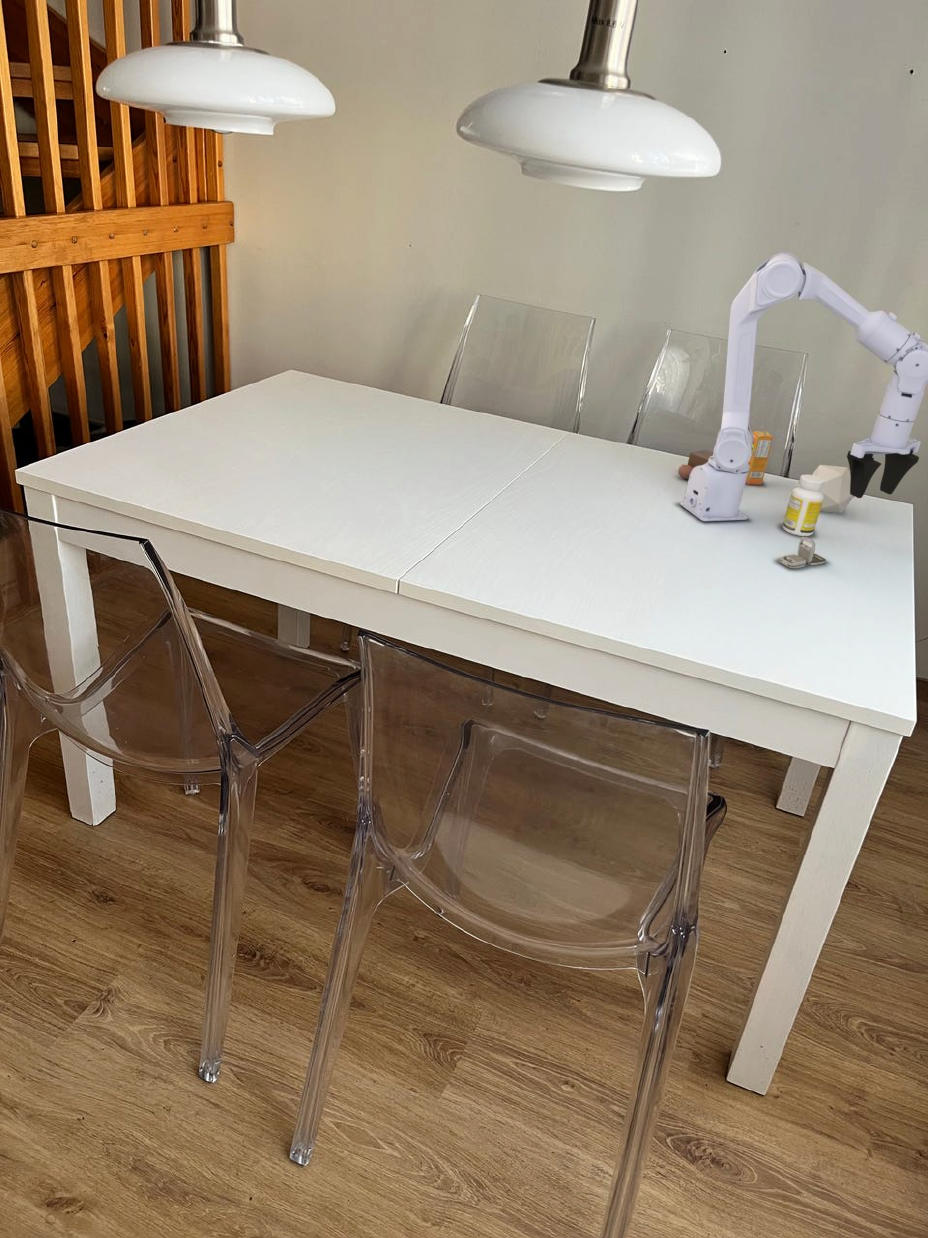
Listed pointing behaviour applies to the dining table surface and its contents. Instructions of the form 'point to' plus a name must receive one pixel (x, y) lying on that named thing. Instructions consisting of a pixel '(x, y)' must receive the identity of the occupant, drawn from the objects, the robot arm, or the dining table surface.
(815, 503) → the supplement bottle
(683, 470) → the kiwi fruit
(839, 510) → the die
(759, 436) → the supplement box
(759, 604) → the dining table surface
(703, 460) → the walnut block
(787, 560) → the strap clip
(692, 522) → the dining table surface
